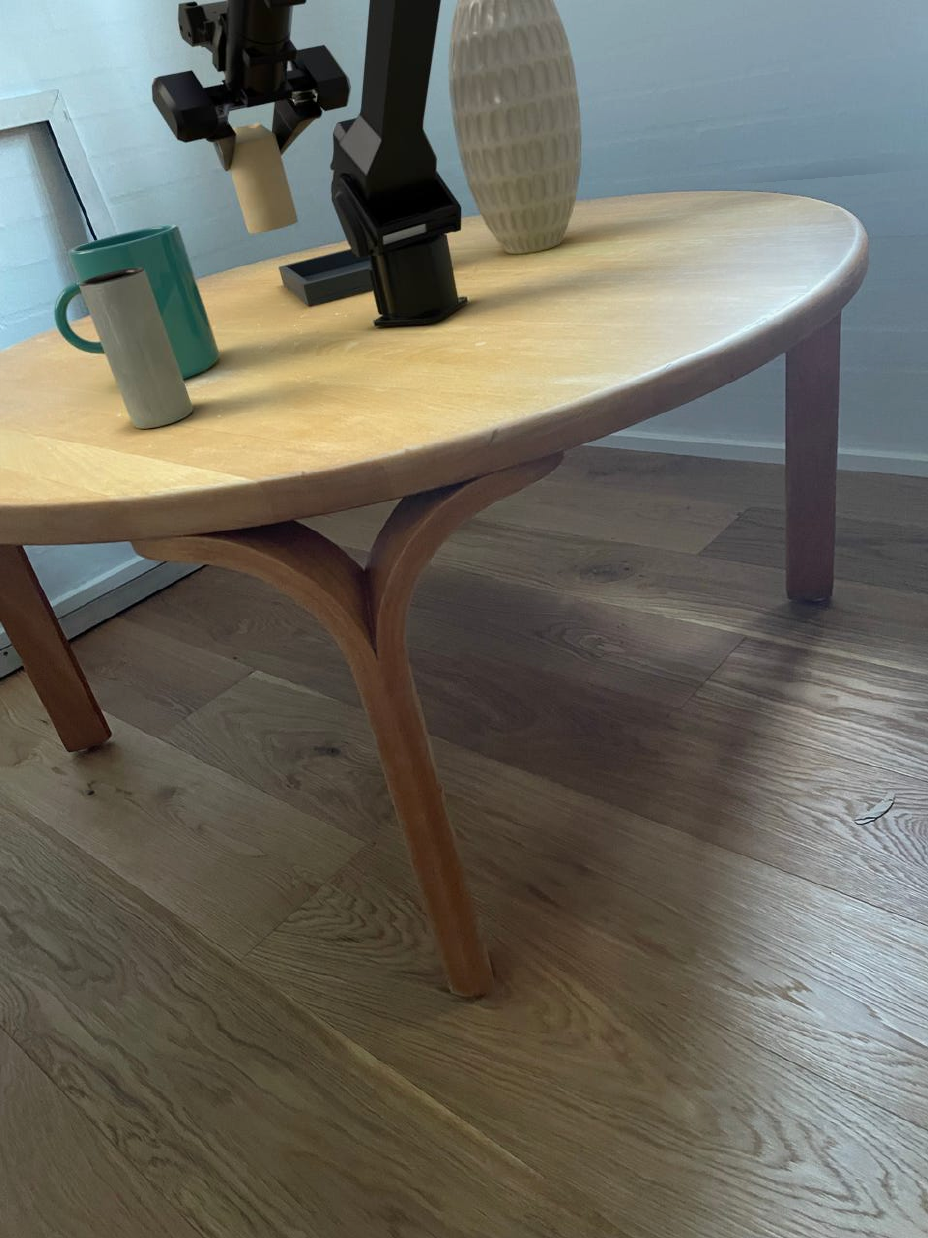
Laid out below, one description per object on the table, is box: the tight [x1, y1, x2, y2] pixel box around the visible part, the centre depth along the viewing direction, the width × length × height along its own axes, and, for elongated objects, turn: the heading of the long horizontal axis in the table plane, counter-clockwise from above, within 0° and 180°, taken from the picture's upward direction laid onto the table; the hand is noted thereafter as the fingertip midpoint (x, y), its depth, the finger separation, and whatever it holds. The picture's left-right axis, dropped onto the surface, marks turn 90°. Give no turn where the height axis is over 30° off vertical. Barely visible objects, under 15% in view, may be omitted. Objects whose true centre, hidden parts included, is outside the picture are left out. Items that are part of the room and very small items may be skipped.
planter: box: [79, 267, 194, 430], centre depth 66 cm, size 4×4×10 cm
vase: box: [447, 0, 582, 255], centre depth 92 cm, size 13×13×28 cm
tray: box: [278, 248, 373, 308], centre depth 101 cm, size 16×15×2 cm
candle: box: [229, 121, 299, 234], centre depth 96 cm, size 6×6×10 cm
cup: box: [53, 224, 220, 380], centre depth 77 cm, size 9×12×11 cm
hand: (250, 161), depth 96 cm, fingers closed on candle, 5 cm apart
